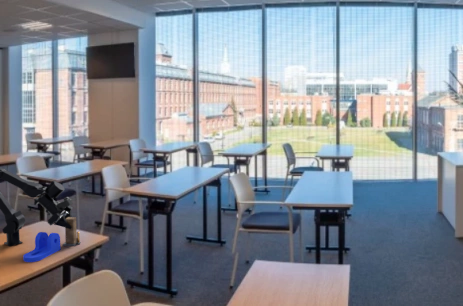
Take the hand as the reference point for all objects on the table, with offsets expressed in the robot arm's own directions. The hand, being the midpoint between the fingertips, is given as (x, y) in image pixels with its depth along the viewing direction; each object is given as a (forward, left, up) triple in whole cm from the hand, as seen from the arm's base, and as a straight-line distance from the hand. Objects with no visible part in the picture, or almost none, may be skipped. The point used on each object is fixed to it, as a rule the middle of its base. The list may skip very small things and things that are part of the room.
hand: (73, 226), depth 220 cm
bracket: (+3, -19, -9) cm, 21 cm away
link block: (-1, -1, -8) cm, 8 cm away
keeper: (-1, -1, -8) cm, 9 cm away
